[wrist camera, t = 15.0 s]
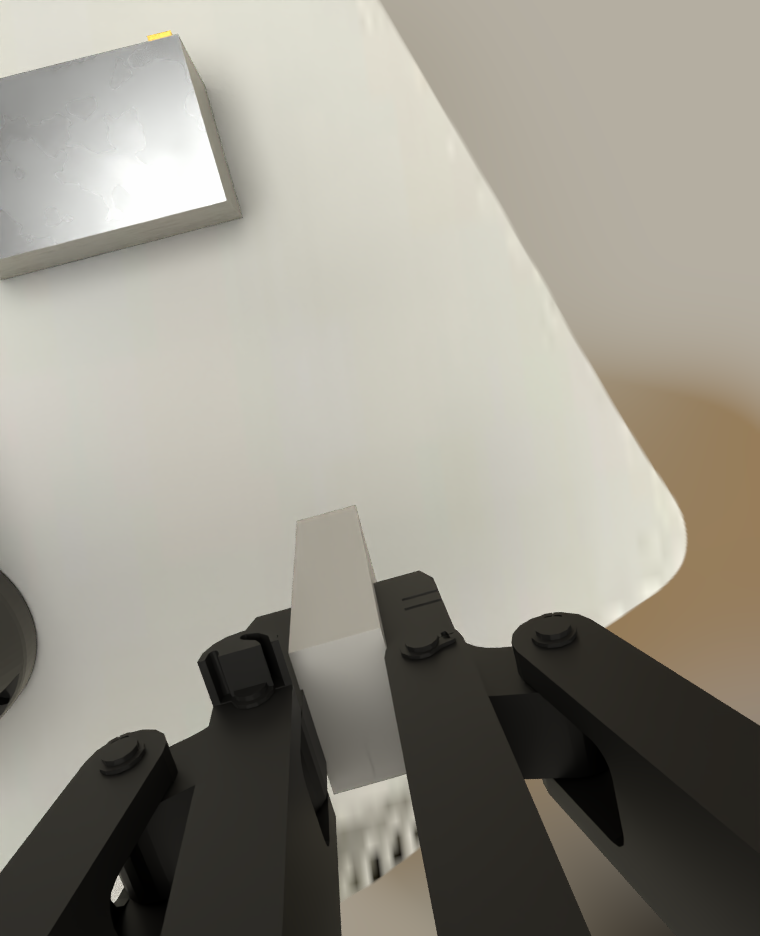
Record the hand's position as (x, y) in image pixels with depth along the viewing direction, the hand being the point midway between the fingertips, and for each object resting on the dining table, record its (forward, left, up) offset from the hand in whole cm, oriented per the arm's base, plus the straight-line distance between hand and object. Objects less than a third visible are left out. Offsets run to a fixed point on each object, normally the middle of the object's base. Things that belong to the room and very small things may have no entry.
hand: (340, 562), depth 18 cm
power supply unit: (-10, +16, -32) cm, 37 cm away
